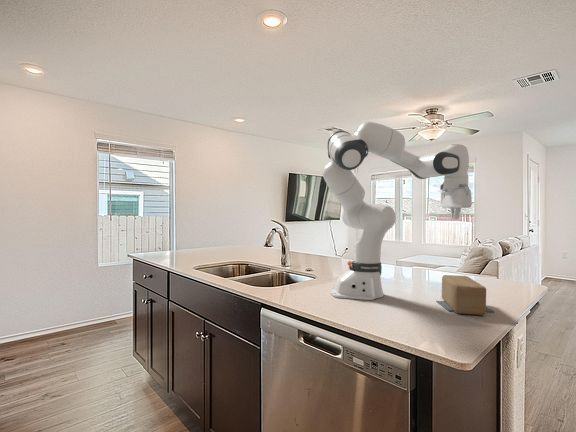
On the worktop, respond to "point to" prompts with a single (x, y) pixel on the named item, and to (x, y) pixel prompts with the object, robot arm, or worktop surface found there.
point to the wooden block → (464, 294)
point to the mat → (453, 310)
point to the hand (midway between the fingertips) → (455, 219)
